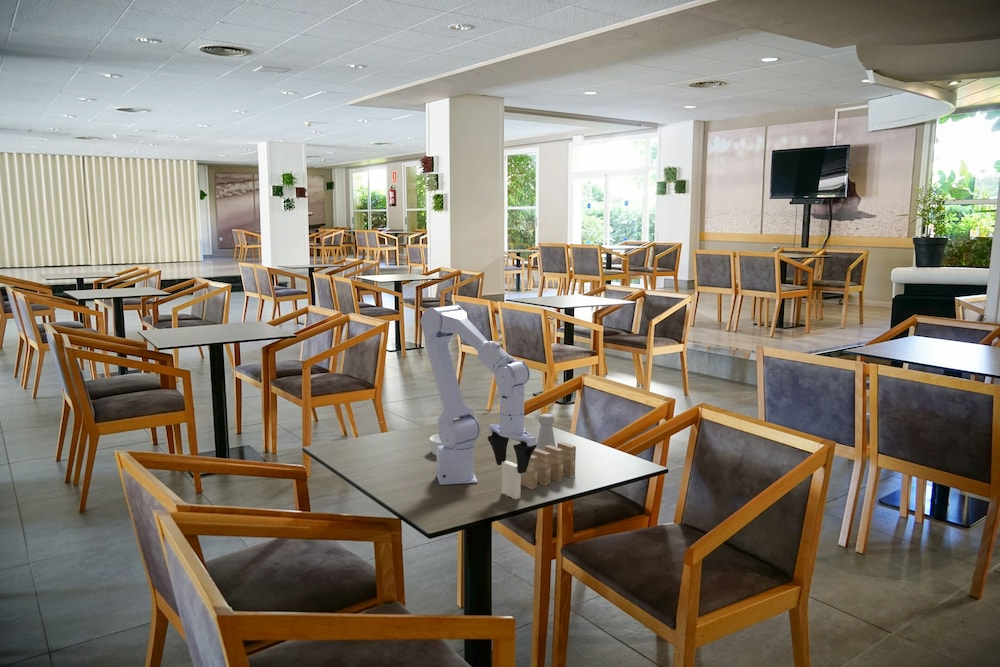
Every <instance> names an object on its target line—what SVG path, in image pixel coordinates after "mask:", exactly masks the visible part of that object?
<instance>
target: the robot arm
mask: <svg viewBox="0 0 1000 667" xmlns="http://www.w3.org/2000/svg"><path fill="white" fill-rule="evenodd" d="M419 321H420V325H421V329H422V333H423V335H424V345H425V349H426V351H427V355H428V360H429V363H430V367H431V370H432V375H433V378H434V382H435V384H436V388H437V392H438V396H439V399H440V402H441V403H440V404H441V406H442V412H441V414H440V415H439V417H438V418H437V424H438V434H439V438H440V440H441V442H442V444H443V445H442V446H437V456H436V470H435V473H436V474H435V475H436V477H437V479H438V480H437V481H438V483H439V485H442V486H443V485H459V484H476V483H478V479H477V477H476V474H475V445H476V443H477V439H478V438H479V437H480V435H481V430H482V428H481V425H480V422H479V420H478V418H477V417H476V416H475V412H474V409H472V408H471V407H469V406H468V405H466V404H465V402H464V399H463V395H462V391H461V388H460V385H459V380H458V378H457V373H456V370H455V366H454V363H453V360H452V356H451V351H450V348H449V343H450V341H451V340H452V339H453V338H454V337H455V335H458V336H459V337H460V338H461V339H462V340H463V341H465V342H466V343H467V344H468V345H470V346H471V347H472V348H473V349H474V350H476V351H477V358H478V360H479V361H480V362H481V363H482V364H483V365H484V366H485V367H486V368H487V369H488V370H489V371H490V372H491V373H492V374H493V375H494V376H493V377H494V380H495V383H496V385H497V391H498V394H499V424H497V423H492V424H489V425H488V433H489V434H491V435H488V436H487V440H488V442H489V444H490V445H491V448H492V451H493V454H494V457H495V462H496V465H497V466H502V462H503V461H507V449H508V443H509V440H513V441H516V442H518V443H517V444H513V449H514V452H515V457H516V464H517V469H518V473H520V474H521V473H525V472H526V471H527V467H528V464H529V460H530V458H531V455H532V453H533V451H534V450H535V449H536V447H537V437H536V436H534V435H533V434H531V433H530V432H528V431H527V428H526V427H525V385H526V384H527V383H528V381H529V380H530V377H531V376H530V375H531V373H530V368H529V367H528V365H527V363H525V361H523V360H521V359H516V358H514V357H513V356H512V355H510V354H509V353H508V352H507V351H506V350H505V349H504V348H502V347H501V343H500V342H498V341H494V340H487V339H486V337H485V336H484V335H483V334H482V333H481V332H480V331H479V329H478V328H477V327H476V326H475V325H474V324H473V323H472V321H471V320H470V319H468V313H467V311H465V310H464V309H463V307H461V306H460V305H458V304H452V305H446V306H437V307H433V306H432V307H428V308H426V309H425V310H424V311H423V314H422V316H421V318H420V320H419ZM456 418H458V419H456Z"/></svg>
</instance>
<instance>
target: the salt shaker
mask: <svg viewBox="0 0 1000 667" xmlns="http://www.w3.org/2000/svg"><path fill="white" fill-rule="evenodd" d="M538 423H539V424H540V427H539V430H538V436H537V439H536V444H537V447H536V448H537V449H540V450H543V451H545V446H548V445H551V446H554V447H556V440H555V434H554V427H553V425H554V424H555V415H553V414H551V413H542V414H540V415H539V416H538ZM536 448H535V449H536Z"/></svg>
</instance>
